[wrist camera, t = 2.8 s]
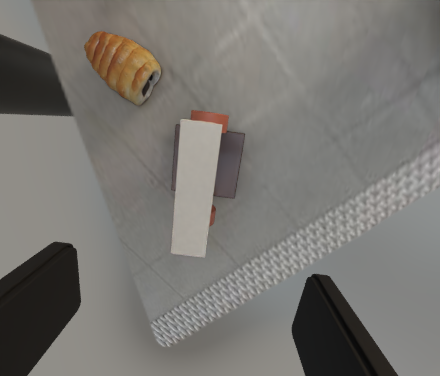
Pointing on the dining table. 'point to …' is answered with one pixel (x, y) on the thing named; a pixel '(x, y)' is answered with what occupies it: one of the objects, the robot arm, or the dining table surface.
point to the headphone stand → (220, 163)
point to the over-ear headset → (196, 181)
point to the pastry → (123, 65)
